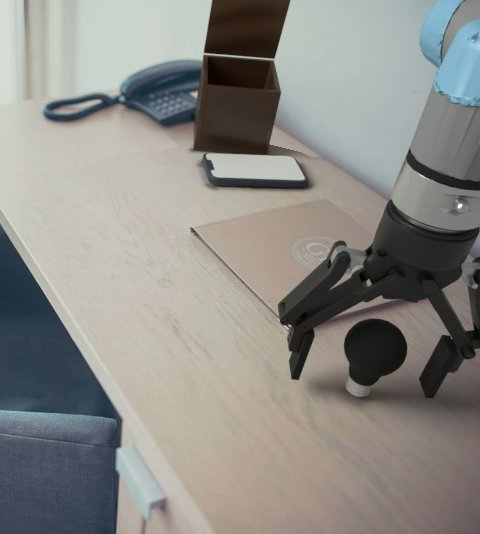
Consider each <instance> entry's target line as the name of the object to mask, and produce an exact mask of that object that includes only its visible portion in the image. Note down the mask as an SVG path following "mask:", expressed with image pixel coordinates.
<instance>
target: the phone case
mask: <svg viewBox="0 0 480 534" xmlns="http://www.w3.org/2000/svg"><path fill="white" fill-rule="evenodd" d="M201 163H202V166H203V170H204V172H205V175H206V178H207V182H208V183H210V184H211V185H214V186H233V187H261V188H262V187H263V188H290V189H291V188H292V189H293V188H294V189H303V188H305V187H306V186H307V184H308V177H307V175H306V174H305V172H304V170H303V168H302V167H301V165H300V162H299V161H298V159H296V157H294V156H290V155H275V154H274V155H273V154H272V155H271V154H267V155H249V154H229V153H219V152H206V153H204V154H203V155H202V159H201Z"/></svg>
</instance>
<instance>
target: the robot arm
mask: <svg viewBox="0 0 480 534" xmlns="http://www.w3.org/2000/svg"><path fill="white" fill-rule="evenodd" d="M418 37H419V39H418V40H419V42H418V43H419V46H420V52H421V53H422V55H423V57H424V59H426V60H427V61H428V62H430V63H431V64H432V65H433V66H435V67H436V68H437V70H436V72H435V75H434V77H433V82H432V86H431V88H430V91H429V95H428V97H427V100H426V102H425V104H424V107H423V111H422V113H421V115H420V119H419V121H418V124H417V126H416V129H415V131H414V134H413V137H412V140H411V143H410V146H409V147H408V150H407V153H406V154H405V158H404V159H403V162H402V165H401V167H400V169H399V173H398V175H397V177H396V180H395V182H394V185H393V187H392V189H391V192H390V199H389V201H388V202H387V203H386V206H385V207H384V211H383V213H382V216H381V218H380V220H379V223H378V226H377V228H376V231H375V233H374V237H373V241H372V242H371V244H370V245H369V246H368V247H367V248H366V249H365V250H361V249H357V248H352V247H351V248H350V247H348V244H347V242H346V241H345V240H337V241H335V242H334V243H333V244H332V247H331V249H330V250H329V252H328V254H327V256H326V258H325V259H324V260H323V261H322V262H321V263H319V265H318V266H316V267H315V268H314V269H313V270H312V271H311V272H310V273H309V274H308V275H307V276H306V277H304V278H303V280H302V281H300V282H299V283H298V284H297V285H296V286H295V287H294V288H293V289H292V290H290V292H289V293H287V295H286V296H284V298H282V299H281V300H280V301H279V302H278V303H277V312H278V318H279V319H278V321H279V324H280V325H282V326H284V327H285V326H290V328H289V332H288V334H287V337H286V340H287V347H288V351H289V352H291V354H290V357H289V360H288V363H289V365H288V366H289V371H290V379H291V380H294V381H300V378H301V375H302V372H303V369H304V367H305V364H306V362H307V360H308V359H307V358H308V356H309V353H310V351H311V348H312V345H313V342H314V341H315V337H316V334H315V329H314V328H316V327H319V326H320V325H322V324H324V323H325V322H327V321H330V320H331V319H333V318H335V317H337V316H338V315H340V314H342V313H344V312H346V311H348V310H350V309H351V308H353V307H355V306H357V305H359V304H360V303H369V302H372V301H373V300H375V299H377V298H378V297H381V296H382V299H383V300H390V301H391V300H393V301H394V300H402V301H405V302H408V303H415V304H418V302H419V301H423V300H426V299H428V301H429V303H430V305H431V306H432V308H433V309H434V311H435V312H436V313H437V315H438V317H439V318H440V320H441V322H442V324H443V325H444V327H445V329H446V330H447V332H448V334H449V335H447V334H442V335H440V337H439V340H438V342H437V344H436V345H435V348H434V349H433V351H432V353H431V355H430V357H429V359H428V360H427V362H426V364H425V366H424V368H423V370H422V371H421V374H420V375H419V378H418V380H419V383H420V387H421V390H422V392H423V395H424V397H425V399H429V400H434V398H435V396H437V393H438V391H439V389H440V388H441V386H442V384H443V382H444V381H445V379H446V377H447V376H448V374H449V373H450V374H455V373H456V372H458V371H459V369H460V367H461V366H462V364H463V362H464V360H473V359H475V358H476V356H477V352H476V350H479V349H480V256H477V257H475V258H474V259H472V261H471V262H469V261H468V262H467V258H468V257H469V254H470V252H471V250H472V248H473V247H474V245H475V242H476V241H477V239H478V237H479V235H480V0H438V1H437V2H436V3H435V5H433V7H432V8H431V9H430V10H429V11H428V12H427V14H426V16H425V18H424V20H423V22H422V24H421V28H420V31H419V36H418ZM358 266H362V267H361V268H359V269H357V270H355V271H354V272H353V269H354V268H355V267H358ZM352 272H353V273H352ZM345 274H351V276H350V277H349V278H348V279H346V280H344V281H343V282H341V283H339V282H340V281H341V280H342V278H343V277H344V276H345ZM460 278H462V280H463V282H464V284H465V285H466V286H467V291H468V300H469V306H470V307H469V308H470V313H471V321H472V329H470V330H466V329H465V327H464V325H463V323H462V322H461V320H460V318H459V317H458V315H457V313H456V312H455V309H454V308H453V306H452V305H451V302H450V301H449V299H448V297H447V295H446V293H445V292H444V290H443V289H445V288H447V287H448V286H451V285H452V284H453V283H456V282H458V280H459V279H460ZM368 280H369V282H370V283H371V284H370V285H369V286H368V283H367V282H368ZM338 283H339V284H338ZM336 284H337V285H336Z"/></svg>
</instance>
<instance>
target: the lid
mask: <svg viewBox="0 0 480 534" xmlns="http://www.w3.org/2000/svg"><path fill="white" fill-rule="evenodd" d="M290 3H291V0H211V4H210V11H209V17H208V21H207V22H208V23H207V28H206V35H205V42H204V47H203V54H207V55H219V56H232V57H244V58H256V59H269V60H275V59H276V56H277V52H278V48H279V44H280V40H281V37H282V34H283V30H284V26H285V22H286V20H287V15H288V12H289V9H290Z"/></svg>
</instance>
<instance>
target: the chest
mask: <svg viewBox="0 0 480 534" xmlns="http://www.w3.org/2000/svg"><path fill="white" fill-rule="evenodd" d="M200 67H201V68H200V75H199V81H198V87H197V88H198V89H197V95H196V101H195V102H196V103H195V108H196V109H195V108H194V116H193V117H194V118H193V119H194V120H193V146H192V149H193V151H200V152H208V153H223V154H249V155H268V151H269V147H270V143H271V138H272V135H273V130H274V126H275V122H276V117H277V113H278V109H279V105H280V100H281V96H282V90H281V86H280V81H279V77H278V73H277V72H278V71H277V67H276V64H275V59H265V58H253V57H241V56H228V55H216V54H203V55H202V62H201V66H200Z"/></svg>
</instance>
